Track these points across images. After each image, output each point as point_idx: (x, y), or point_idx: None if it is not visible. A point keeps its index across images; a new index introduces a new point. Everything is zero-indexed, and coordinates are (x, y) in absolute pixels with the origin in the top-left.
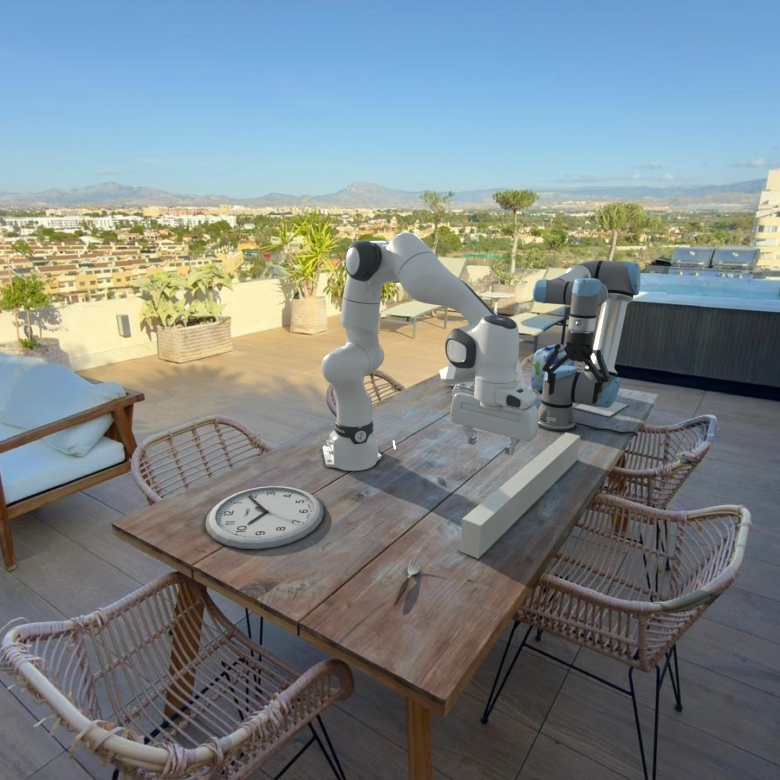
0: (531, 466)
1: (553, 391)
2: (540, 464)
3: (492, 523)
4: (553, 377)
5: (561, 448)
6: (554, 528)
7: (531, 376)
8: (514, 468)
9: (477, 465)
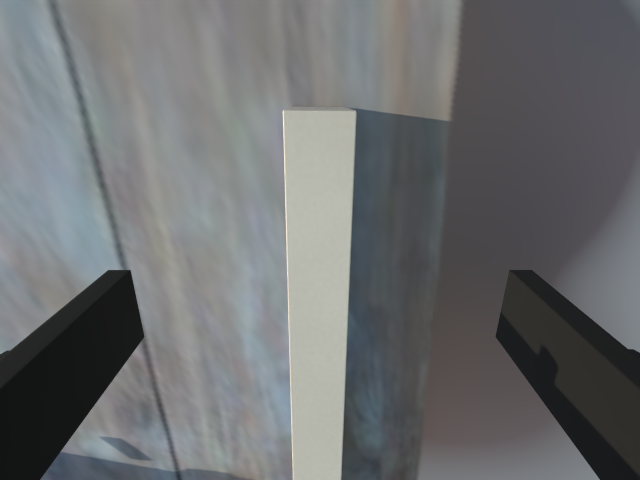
0: (307, 462)
1: (124, 291)
2: (323, 441)
3: None
4: (24, 469)
5: (333, 301)
6: (404, 470)
7: None
8: (211, 295)
9: None
